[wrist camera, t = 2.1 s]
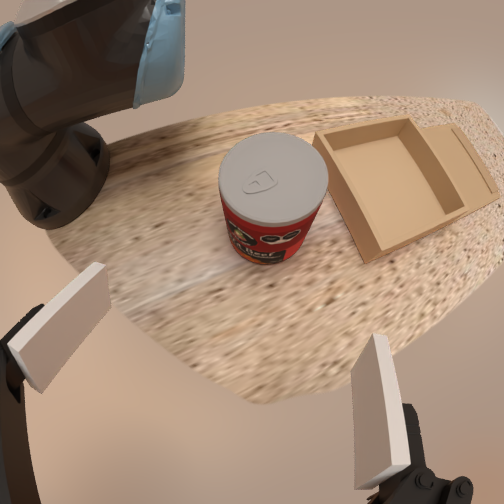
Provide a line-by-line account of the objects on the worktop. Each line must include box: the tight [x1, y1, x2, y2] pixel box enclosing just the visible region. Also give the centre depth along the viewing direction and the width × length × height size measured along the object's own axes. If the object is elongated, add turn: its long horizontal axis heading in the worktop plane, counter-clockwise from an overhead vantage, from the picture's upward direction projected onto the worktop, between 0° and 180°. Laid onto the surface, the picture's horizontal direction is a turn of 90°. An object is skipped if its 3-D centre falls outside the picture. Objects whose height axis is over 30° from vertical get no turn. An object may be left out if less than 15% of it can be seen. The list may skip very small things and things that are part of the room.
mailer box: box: [312, 114, 501, 264], centre depth 31 cm, size 28×14×4 cm, turn 111°
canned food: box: [218, 132, 328, 264], centre depth 25 cm, size 8×8×11 cm
